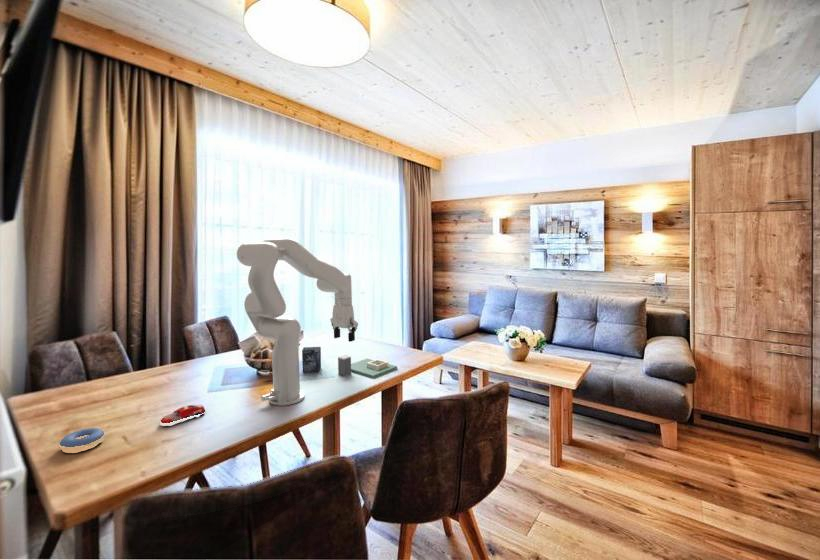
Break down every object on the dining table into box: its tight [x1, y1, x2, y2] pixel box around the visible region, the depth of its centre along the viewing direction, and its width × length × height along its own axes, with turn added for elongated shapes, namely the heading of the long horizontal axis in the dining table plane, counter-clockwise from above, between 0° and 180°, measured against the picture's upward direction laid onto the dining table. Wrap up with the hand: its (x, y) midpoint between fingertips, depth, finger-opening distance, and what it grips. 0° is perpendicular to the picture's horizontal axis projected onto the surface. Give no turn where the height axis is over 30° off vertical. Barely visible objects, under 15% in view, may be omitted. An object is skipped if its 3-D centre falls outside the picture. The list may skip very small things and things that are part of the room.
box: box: [301, 346, 322, 373], centre depth 172 cm, size 8×6×11 cm
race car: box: [160, 404, 206, 423], centre depth 124 cm, size 13×5×4 cm, turn 139°
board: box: [351, 358, 398, 379], centre depth 174 cm, size 16×20×3 cm
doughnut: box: [59, 427, 105, 447], centre depth 107 cm, size 10×10×5 cm
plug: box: [337, 354, 352, 377], centre depth 167 cm, size 4×4×8 cm
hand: (344, 339), depth 166 cm, fingers open, 9 cm apart
